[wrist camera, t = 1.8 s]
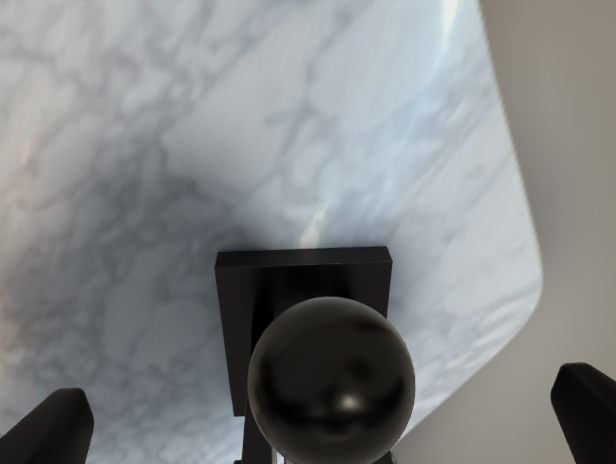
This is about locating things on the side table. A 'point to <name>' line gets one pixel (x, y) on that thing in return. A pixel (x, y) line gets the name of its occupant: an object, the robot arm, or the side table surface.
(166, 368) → the side table surface
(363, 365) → the lever
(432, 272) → the side table surface
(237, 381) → the bracket
